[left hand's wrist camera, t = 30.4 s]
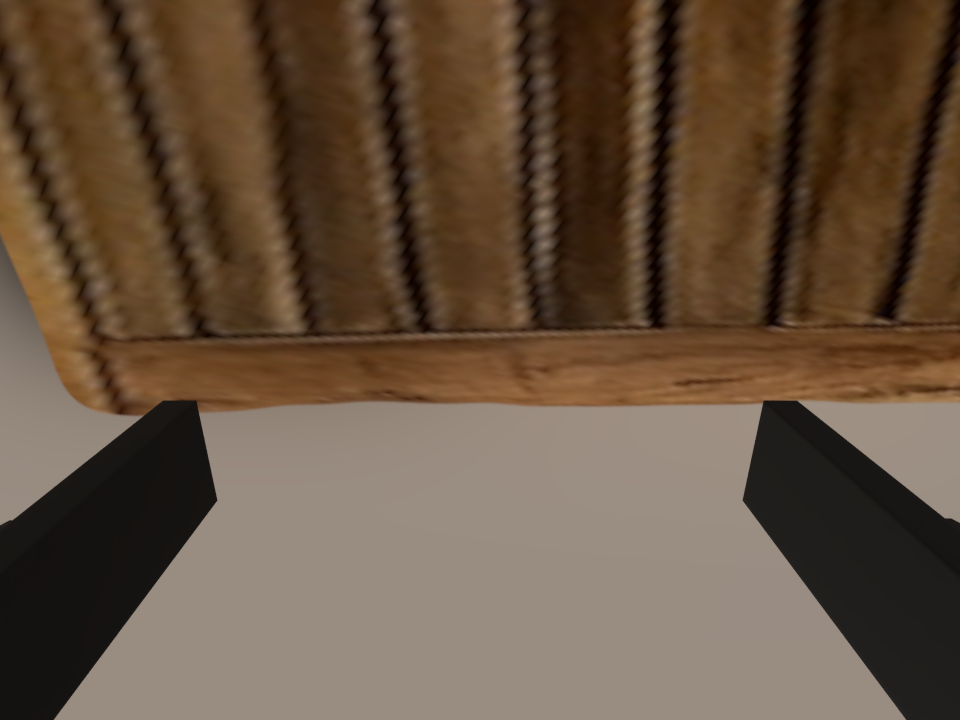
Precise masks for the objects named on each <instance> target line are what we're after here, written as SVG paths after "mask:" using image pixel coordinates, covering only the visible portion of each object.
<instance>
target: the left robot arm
mask: <svg viewBox="0 0 960 720" xmlns="http://www.w3.org/2000/svg"><path fill="white" fill-rule="evenodd" d="M216 502H217V497H216V492H215V487H214V482H213V478H212V473H211V468H210V463H209V459H208V454H207V449H206V445H205V440H204V435H203V430H202V426H201V421H200V416H199V411H198V407H197V402H196V401H162V402H161V403H160V404H158V405H157V406H156V407H155V408H153V409H152V410H151V411H150V412H148V413H147V414H146V415H145V416H143V417H142V418H141V419H139V420H138V421H137V422H136V423H134V424H133V425H132V426H131V427H129V428H128V429H127V430H126V431H124V432H123V433H122V434H121V435H119V436H118V437H117V438H116V439H114V440H113V441H112V442H111V443H109V444H108V445H107V446H106V447H104V448H103V449H102V450H101V451H99V452H98V453H97V454H96V455H94V456H93V457H92V458H90V459H89V460H88V461H87V462H85V463H84V464H83V465H82V466H81V467H79V468H78V469H77V470H75V471H74V472H73V473H72V474H70V475H69V476H68V477H67V478H65V479H64V480H63V481H62V482H60V483H59V484H58V485H57V486H55V487H54V488H53V489H52V490H50V491H49V492H48V493H47V494H45V495H44V496H43V497H41V498H40V499H39V500H38V501H36V502H35V503H34V504H33V505H31V506H30V507H29V508H28V509H27V510H25V511H24V512H23V513H21V514H20V515H19V516H18V517H16V518H15V519H14V520H10V521H8V522H6V523H4V524H2V525H0V720H54V719H55V717H56V716H57V715H58V713H59V712H60V711H61V709H62V708H63V707H64V705H65V704H66V703H67V701H68V700H69V699H70V697H71V696H72V694H73V693H74V692H75V690H76V689H77V688H78V686H79V685H80V684H81V682H82V681H83V680H84V678H85V677H86V676H87V674H88V673H89V672H90V670H91V669H92V668H93V666H94V665H95V664H96V662H97V661H98V660H99V658H100V657H101V656H102V654H103V653H104V652H105V650H106V649H107V648H108V646H109V645H110V643H111V642H112V641H113V640H114V638H115V637H116V636H117V634H118V633H119V631H120V630H121V629H122V627H123V626H124V625H125V623H126V622H127V621H128V619H129V618H130V617H131V615H132V614H133V613H134V611H135V610H136V609H137V607H138V606H139V605H140V603H141V602H142V601H143V599H144V598H145V597H146V595H147V594H148V593H149V591H150V590H151V589H152V587H153V586H154V585H155V583H156V582H157V580H158V579H159V578H160V577H161V575H162V574H163V573H164V571H165V570H166V569H167V567H168V566H169V564H170V563H171V562H172V560H173V559H174V558H175V556H176V555H177V554H178V552H179V551H180V550H181V548H182V547H183V546H184V544H185V543H186V542H187V540H188V539H189V538H190V536H191V535H192V534H193V532H194V531H195V530H196V528H197V527H198V526H199V524H200V523H201V522H202V520H203V519H204V518H205V516H206V515H207V514H208V512H209V511H210V510H211V508H212V507H213V506H214V504H215V503H216ZM743 502H744V503H745V504H746V506H747V507H748V508H749V510H750V511H751V512H752V514H753V515H754V516H755V518H756V519H757V520H758V522H759V523H760V524H761V526H762V527H763V528H764V530H765V531H766V532H767V534H768V535H769V536H770V538H771V539H772V540H773V542H774V543H775V544H776V546H777V547H778V548H779V550H780V551H781V552H782V554H783V555H784V556H785V558H786V559H787V560H788V562H789V563H790V564H791V566H792V567H793V569H794V570H795V571H796V573H797V574H798V575H799V577H800V578H801V579H802V581H803V582H804V583H805V585H806V586H807V587H808V589H809V590H810V591H811V593H812V594H813V595H814V597H815V598H816V599H817V601H818V602H819V603H820V605H821V606H822V607H823V609H824V610H825V611H826V613H827V614H828V615H829V617H830V618H831V619H832V621H833V622H834V623H835V625H836V626H837V627H838V629H839V630H840V631H841V633H842V634H843V636H844V637H845V638H846V640H847V641H848V642H849V644H850V645H851V646H852V648H853V649H854V650H855V652H856V653H857V654H858V656H859V657H860V658H861V660H862V661H863V662H864V664H865V665H866V666H867V668H868V669H869V670H870V672H871V673H872V674H873V676H874V677H875V678H876V680H877V681H878V682H879V684H880V685H881V686H882V688H883V689H884V690H885V692H886V693H887V694H888V696H889V697H890V698H891V700H892V701H893V702H894V704H895V705H896V707H897V708H898V709H899V711H900V712H901V713H902V714H903V716H904V717H905V719H906V720H960V523H959V522H957V521H955V520H953V519H945V518H944V517H942V516H941V515H940V514H939V513H937V512H936V511H935V510H933V509H932V508H931V507H930V506H929V505H927V504H926V503H925V502H924V501H922V500H921V499H920V498H918V497H917V496H916V495H915V494H913V493H912V492H911V491H910V490H908V489H907V488H906V487H905V486H903V485H902V484H901V483H900V482H898V481H897V480H896V479H895V478H893V477H892V476H891V475H890V474H888V473H887V472H886V471H885V470H883V469H882V468H881V467H880V466H878V465H877V464H876V463H875V462H873V461H872V460H871V459H869V458H868V457H867V456H866V455H864V454H863V453H862V452H861V451H859V450H858V449H857V448H856V447H854V446H853V445H852V444H851V443H849V442H848V441H847V440H846V439H844V438H843V437H842V436H841V435H839V434H838V433H837V432H836V431H834V430H833V429H832V428H831V427H829V426H828V425H827V424H826V423H824V422H823V421H822V420H820V419H819V418H818V417H817V416H815V415H814V414H813V413H812V412H810V411H809V410H808V409H807V408H805V407H804V406H803V405H802V404H800V403H799V402H798V401H764V402H763V407H762V412H761V416H760V421H759V426H758V431H757V435H756V440H755V445H754V449H753V454H752V459H751V463H750V468H749V473H748V478H747V482H746V487H745V492H744V497H743Z"/></svg>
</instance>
